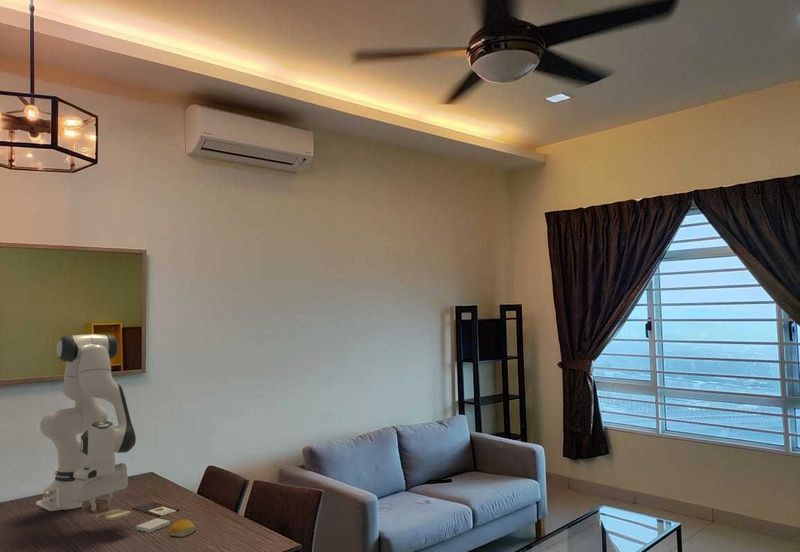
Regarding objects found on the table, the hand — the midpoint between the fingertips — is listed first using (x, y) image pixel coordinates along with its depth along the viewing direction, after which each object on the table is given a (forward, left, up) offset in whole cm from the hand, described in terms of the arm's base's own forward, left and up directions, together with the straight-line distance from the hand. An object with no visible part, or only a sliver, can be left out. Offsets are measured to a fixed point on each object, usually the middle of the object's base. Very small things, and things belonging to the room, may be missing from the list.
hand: (100, 508), depth 207 cm
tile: (+10, +11, -8) cm, 17 cm away
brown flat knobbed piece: (+2, 0, -2) cm, 3 cm away
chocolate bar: (-1, +25, -9) cm, 27 cm away
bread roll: (+27, +12, -9) cm, 31 cm away
